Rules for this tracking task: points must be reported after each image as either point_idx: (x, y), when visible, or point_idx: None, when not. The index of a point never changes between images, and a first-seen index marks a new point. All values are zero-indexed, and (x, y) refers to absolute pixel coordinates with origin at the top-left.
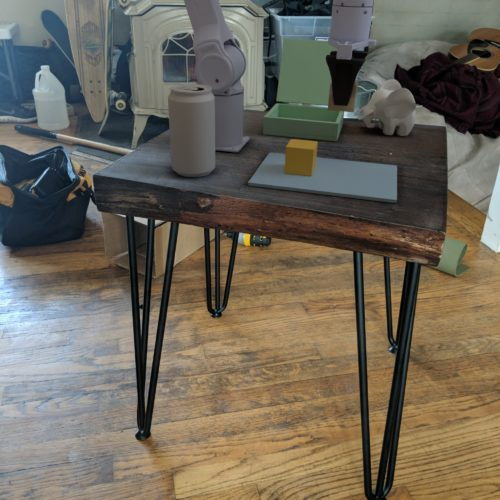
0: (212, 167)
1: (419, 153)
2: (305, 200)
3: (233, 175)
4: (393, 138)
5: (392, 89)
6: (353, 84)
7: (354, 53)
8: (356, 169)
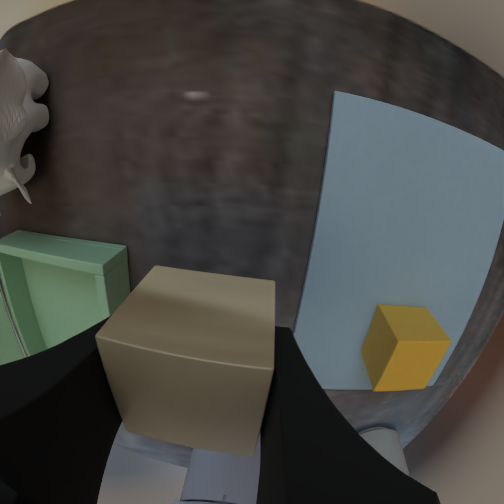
0: (388, 431)
1: (174, 24)
2: (490, 303)
3: (388, 405)
4: (64, 100)
5: None
6: (328, 399)
7: (27, 492)
8: (385, 208)
